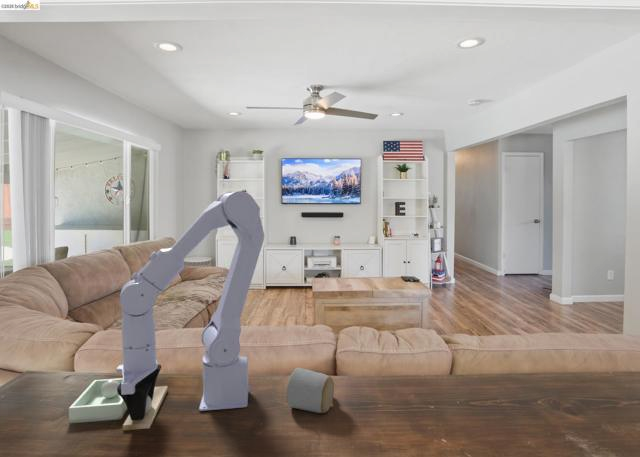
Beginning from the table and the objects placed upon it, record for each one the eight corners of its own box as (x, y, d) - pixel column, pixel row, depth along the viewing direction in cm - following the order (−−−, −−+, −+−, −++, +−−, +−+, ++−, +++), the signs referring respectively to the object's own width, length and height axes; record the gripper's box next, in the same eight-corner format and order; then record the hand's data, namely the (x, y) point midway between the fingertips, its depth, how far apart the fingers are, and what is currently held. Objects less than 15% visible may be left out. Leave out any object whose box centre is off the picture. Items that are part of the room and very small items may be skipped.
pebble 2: (154, 407, 75) (153, 390, 75) (149, 417, 72) (148, 399, 71) (135, 409, 75) (134, 391, 74) (128, 419, 71) (128, 401, 71)
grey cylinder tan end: (324, 422, 72) (325, 383, 71) (285, 414, 75) (285, 376, 74) (339, 395, 82) (340, 361, 81) (304, 389, 85) (305, 356, 84)
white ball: (123, 392, 82) (122, 376, 82) (116, 400, 78) (115, 383, 78) (105, 394, 81) (104, 377, 81) (98, 402, 78) (97, 385, 78)
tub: (139, 389, 84) (139, 376, 84) (121, 419, 73) (120, 404, 73) (95, 393, 83) (94, 380, 82) (69, 423, 72) (68, 408, 71)
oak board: (167, 390, 84) (167, 385, 84) (149, 428, 70) (149, 423, 70) (145, 391, 83) (145, 387, 83) (123, 430, 69) (122, 425, 69)
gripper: (129, 331, 78) (132, 393, 80) (100, 360, 64) (104, 436, 65) (165, 329, 80) (167, 391, 81) (144, 358, 65) (147, 432, 66)
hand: (141, 411), depth 73 cm, fingers open, 4 cm apart
